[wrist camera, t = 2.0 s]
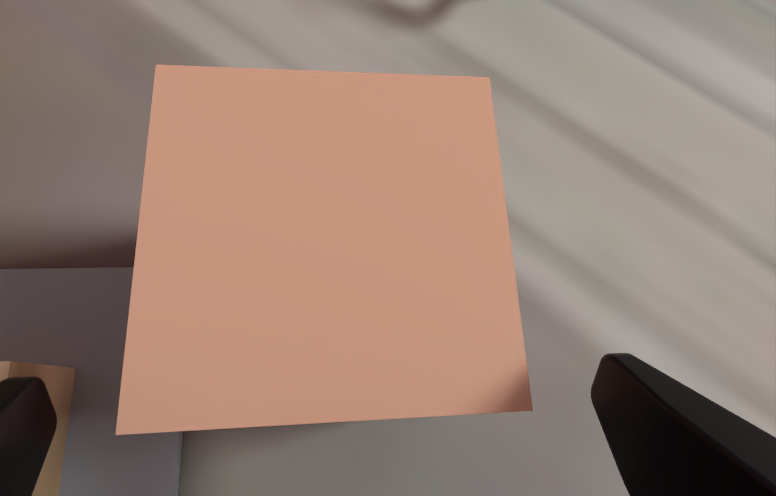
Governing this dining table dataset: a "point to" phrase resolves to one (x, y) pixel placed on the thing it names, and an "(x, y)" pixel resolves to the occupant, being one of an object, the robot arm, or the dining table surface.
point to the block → (61, 394)
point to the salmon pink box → (320, 253)
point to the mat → (87, 375)
